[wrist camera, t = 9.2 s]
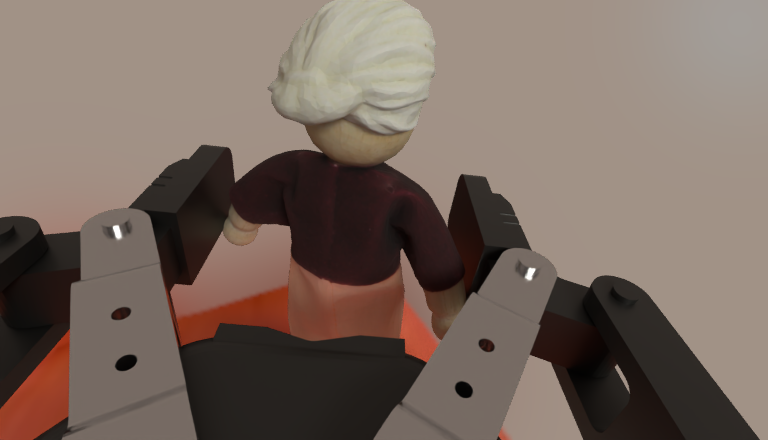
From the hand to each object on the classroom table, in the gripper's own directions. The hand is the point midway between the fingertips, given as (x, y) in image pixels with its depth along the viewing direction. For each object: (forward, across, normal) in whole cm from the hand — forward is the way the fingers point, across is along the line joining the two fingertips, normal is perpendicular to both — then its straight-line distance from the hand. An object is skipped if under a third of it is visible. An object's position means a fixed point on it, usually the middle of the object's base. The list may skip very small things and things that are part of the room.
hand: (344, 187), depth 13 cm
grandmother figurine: (-2, 0, +7) cm, 7 cm away
